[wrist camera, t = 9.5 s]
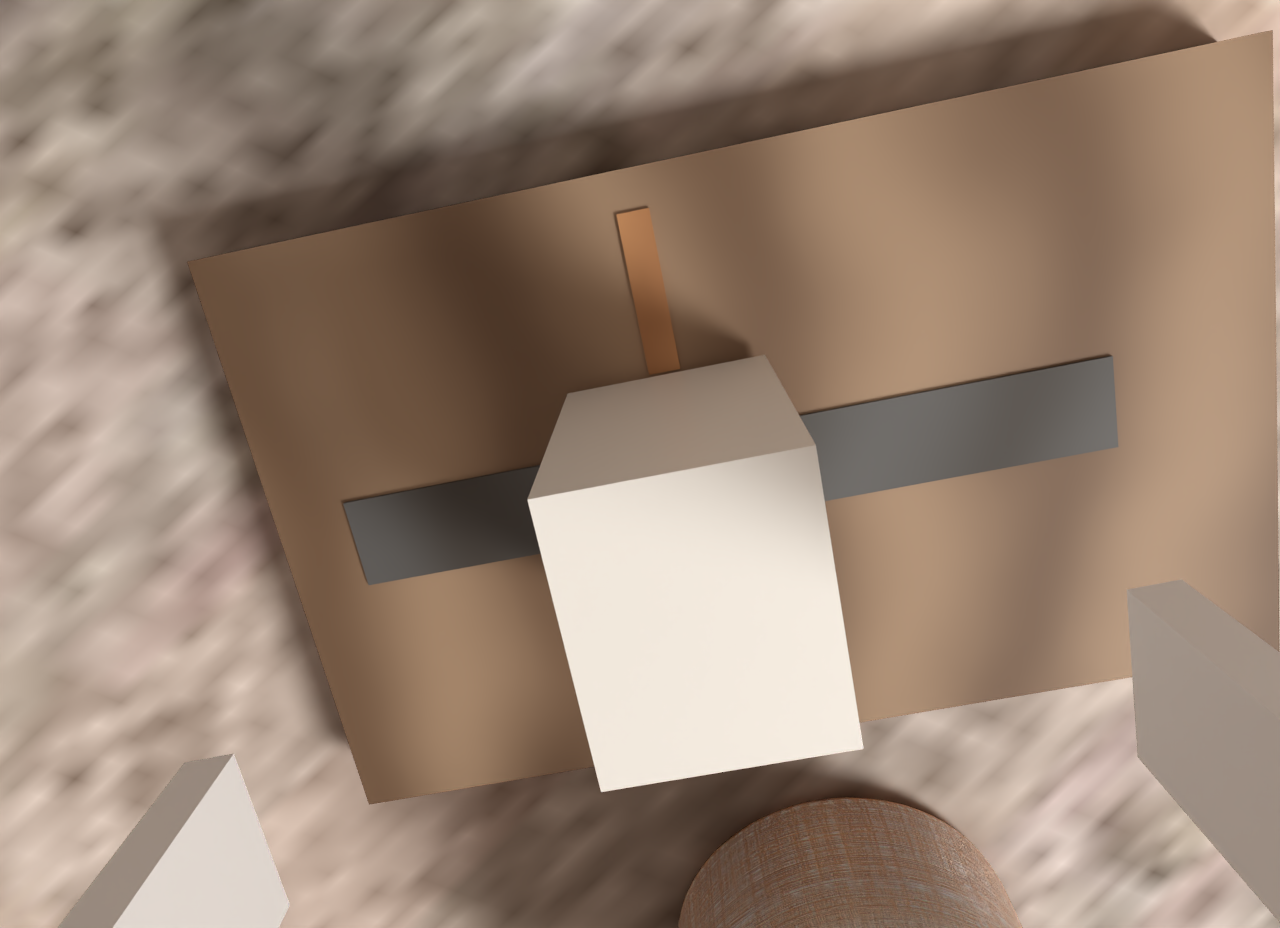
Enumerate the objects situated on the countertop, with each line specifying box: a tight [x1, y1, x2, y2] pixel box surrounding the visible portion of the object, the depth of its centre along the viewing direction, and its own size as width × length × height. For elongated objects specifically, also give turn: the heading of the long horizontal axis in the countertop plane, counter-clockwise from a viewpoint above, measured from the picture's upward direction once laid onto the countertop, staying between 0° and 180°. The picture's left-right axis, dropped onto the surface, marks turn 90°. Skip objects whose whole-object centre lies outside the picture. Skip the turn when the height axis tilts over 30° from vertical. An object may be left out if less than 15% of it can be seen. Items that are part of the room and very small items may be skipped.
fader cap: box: [527, 355, 863, 792], centre depth 21 cm, size 5×6×8 cm
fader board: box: [187, 30, 1280, 804], centre depth 26 cm, size 26×16×2 cm, turn 102°
